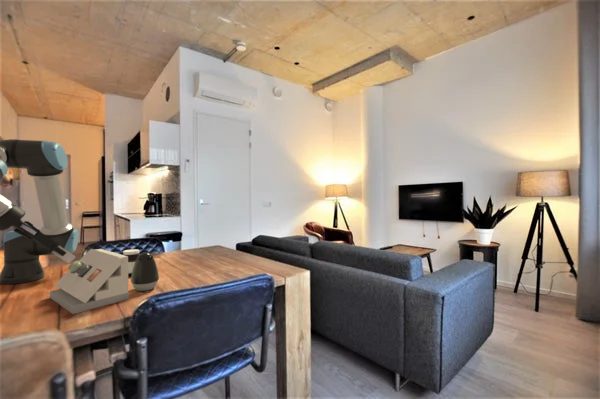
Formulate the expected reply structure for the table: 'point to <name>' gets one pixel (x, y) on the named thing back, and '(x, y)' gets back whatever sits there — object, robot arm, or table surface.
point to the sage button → (75, 266)
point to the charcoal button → (83, 270)
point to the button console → (94, 282)
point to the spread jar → (131, 259)
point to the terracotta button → (94, 275)
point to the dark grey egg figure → (144, 273)
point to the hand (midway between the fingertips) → (71, 259)
